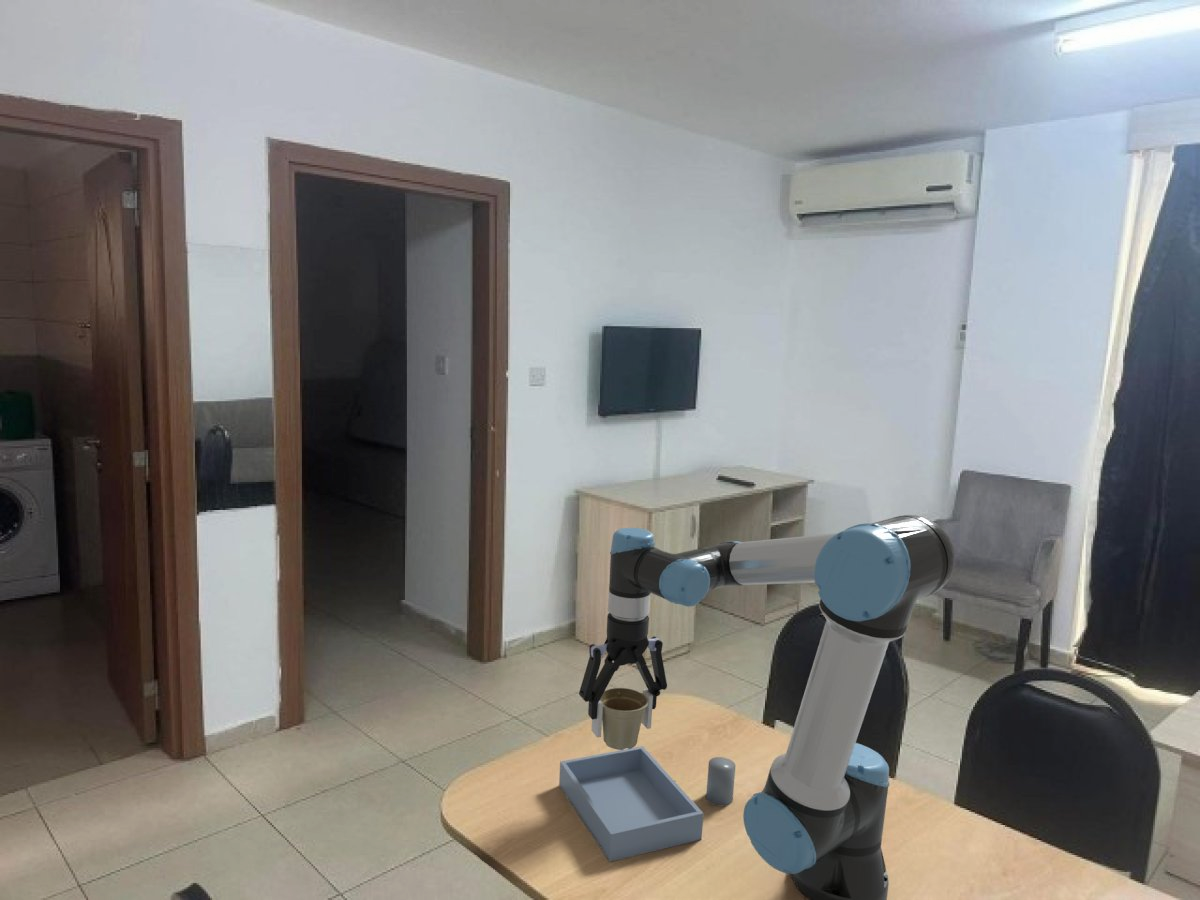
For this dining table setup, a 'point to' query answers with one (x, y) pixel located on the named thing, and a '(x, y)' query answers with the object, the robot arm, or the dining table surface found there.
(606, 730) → the flower pot
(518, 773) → the dining table surface
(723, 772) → the canister
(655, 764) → the tote
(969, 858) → the dining table surface
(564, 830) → the dining table surface
